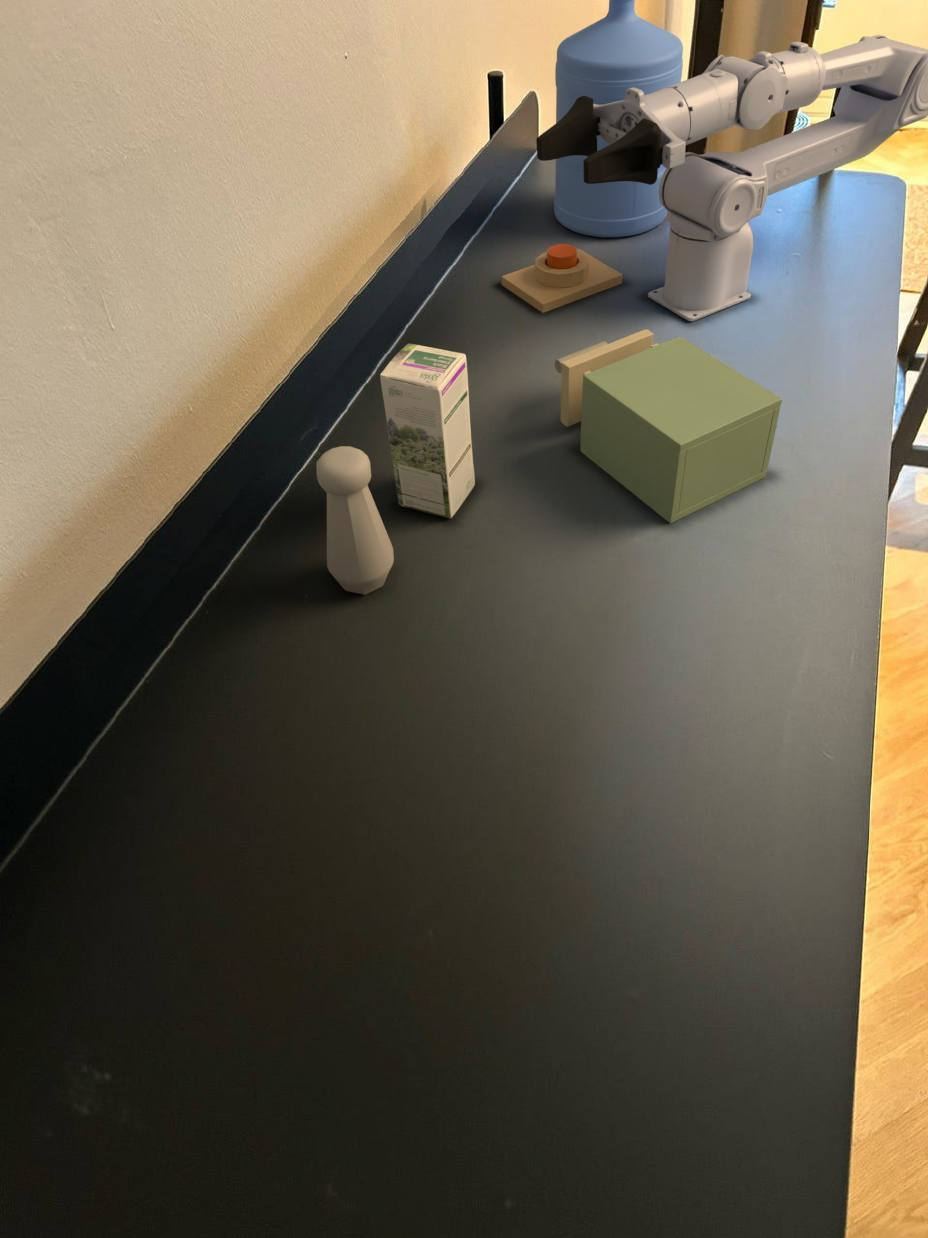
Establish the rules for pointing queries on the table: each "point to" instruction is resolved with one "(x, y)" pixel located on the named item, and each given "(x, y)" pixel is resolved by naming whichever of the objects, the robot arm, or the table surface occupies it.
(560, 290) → the block
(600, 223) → the water jug
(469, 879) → the table surface
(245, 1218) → the table surface
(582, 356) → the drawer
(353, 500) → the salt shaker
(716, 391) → the sage green panel box
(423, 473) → the syrup box
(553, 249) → the button
